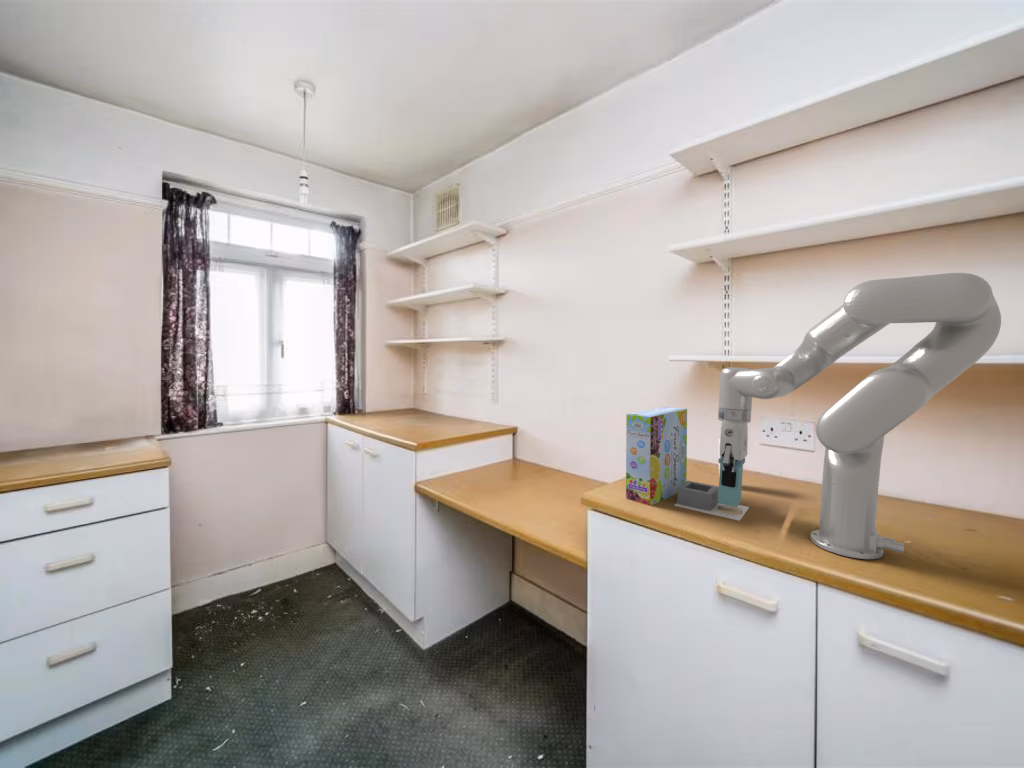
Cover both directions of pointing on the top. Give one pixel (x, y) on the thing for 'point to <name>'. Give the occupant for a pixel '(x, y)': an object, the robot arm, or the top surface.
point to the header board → (706, 500)
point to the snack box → (655, 454)
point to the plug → (731, 494)
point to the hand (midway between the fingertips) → (730, 483)
